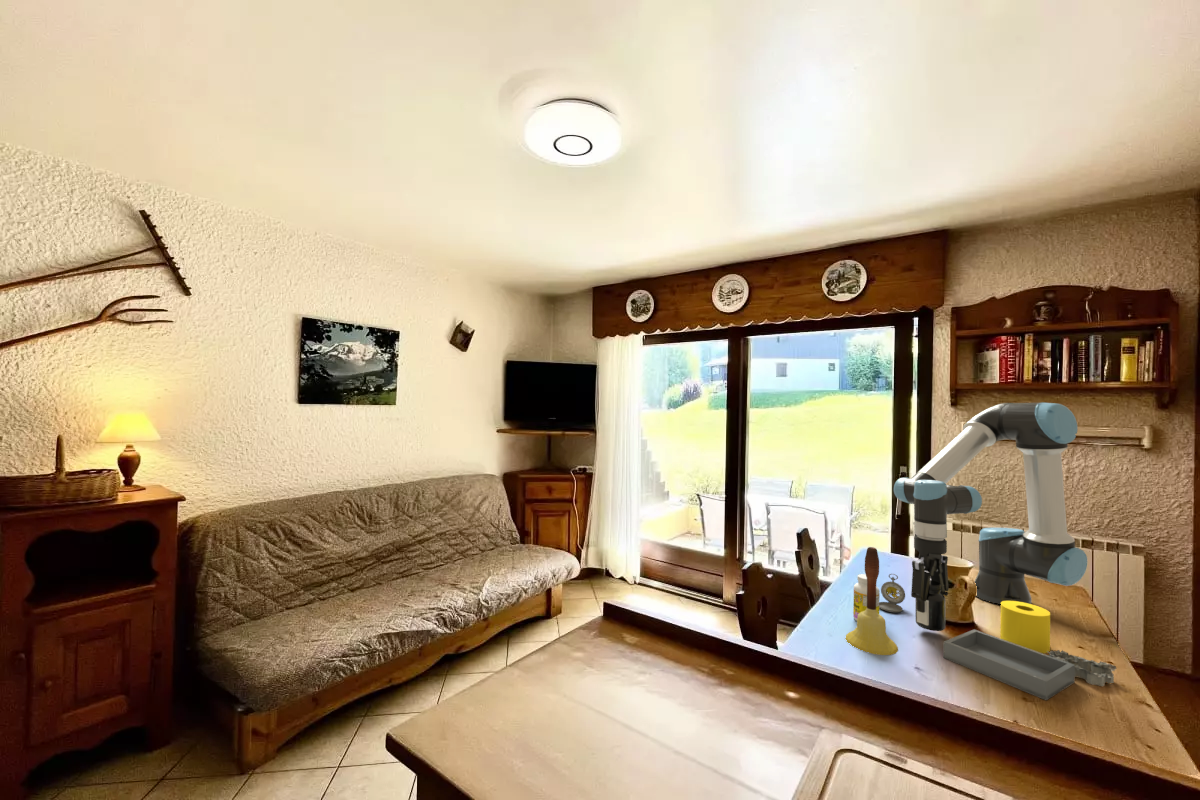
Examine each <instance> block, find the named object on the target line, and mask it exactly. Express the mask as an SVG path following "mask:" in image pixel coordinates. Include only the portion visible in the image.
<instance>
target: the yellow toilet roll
mask: <svg viewBox="0 0 1200 800" xmlns="http://www.w3.org/2000/svg"><path fill="white" fill-rule="evenodd" d="M999 615H1000V621H999V622H1000V627H999V628H1000V631H999V632H1000V633H999V635H1000V637H999V638H1000V639H1003V640H1006V641H1009V642H1012V643H1014V644H1017V645H1020V646H1023V647H1026V648H1029V649H1031V650H1034V651H1037V652H1040V653H1043V654H1049V653H1048V652H1049V651H1051V612H1050V611H1049V610H1047V609H1046V608H1043V607H1041V606H1038V605H1035V604H1032V603H1031V604H1028V603H1024V602H1018V601H1002V602H1001V605H1000V614H999ZM1047 651H1048V652H1047Z"/></svg>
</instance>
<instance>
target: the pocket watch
mask: <svg viewBox="0 0 1200 800" xmlns="http://www.w3.org/2000/svg"><path fill="white" fill-rule="evenodd" d="M891 575H893V576H892V577H891ZM894 576H896V578H895V577H894ZM888 578H889V579H890V581H886V582H884V583H882V585H881V588H880V593H881V595H882V597H883V598H884V599H885V600H886V601H879V610H882V611H885V612H889V613H895V614H896V613H901V612H903V607H902V606H900V605H899V604H901V603H903V602H904V600H905V599H906V592H905V589H904V588H903V586H902V585H901V584H899V583H897V582H895V581H896V580H898V578H899V576H898V575H897V574H895V573H889V574H888Z"/></svg>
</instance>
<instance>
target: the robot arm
mask: <svg viewBox="0 0 1200 800" xmlns="http://www.w3.org/2000/svg"><path fill="white" fill-rule="evenodd" d="M1078 429H1079V428H1078V421H1077V419H1076V417H1075V415H1074V413H1073V412H1072V410H1070V409H1069V408H1068V407H1067V406H1065V405H1063V404H1062V403H1053V402H1003V403H998V404H995V405H993V406H990V407H988V408H986V409H984V410H982V411H980V412H979V413H977V414H976V415H974V416H972V418H970V419H969V420H968V421H966V422H965V424H963V426H962V431H961V432H960V433H959V434H958V435H956V437H954V438H953V439H952V440H951V441H950V442H948V444H947V445H946V446H945V447H943V448H942V449H941V450H940V451H939V452H938V453H937V454H936V455H935V456H934V457H933V458H931V459H930V460H929V461H928V462H927V463H926V464H924V465H923V466H922V468H920V469H919V470H918V471H917V472H916V474H914V475H913V476H911V477H910V478H909V477H900V478H898V479H897V480H896V481H895V482H894V485H893V494H894V496H895V498H896V499H897V500H899V501H901V502H904V503H907V504H909V505H913V510H914V512H913V513H914V514H913V515H914V516H913V519H914V520H913V522H912V523H913V526H914V527H913V531H914V534H915V535H914V536H913V548H914V549H915V550H916V551H918V553H919V554H918V558H917V559H918V560H912V562H911V565H912V574H911V575H912V577H911V591H910V595H911V597H912V598H914V599H915V600H916V599H917V622H919V623H922V624H924V625H929V601H928V600H927V595H928V589H929V584H930V580H933V581H936V582H939V583H940V584H941V592H940V593H942V594H943V595H944V596H946V597H947V596H948V595H949V592H948V591H949V588H950V587H949V575H948V560H949V559H948V558H949V557H948V556H947V555H945V554H946V553H947V551H948V548H947V547H948V544H947V543H948V542H947V540H946V539H947V538H948V530H947V529H948V527H947V526H948V524H947V522H948V521H947V517H948V516H947V515H958V514H970V513H974V512H977V511H978V510H980V509H981V507H982V505H983V498H982V495H981V493H980V492H979V490H978V489H976V488H975V487H973V486H970V485H960V484H959V485H949V484H947V483H949V482H950V480H951V479H953V478H954V477H955V475H957V474H958V473H959V472H960V471H961V470H962V469H963V468H965V466H966V465H968V464H969V463H970V462H971V461H972V460H973V459H974V458H975V457H976V456H977V455H978V454H979V453H981V452H982V451H983V450H984V449H985V448H987V447H991V446H993V445H994V444H996V443H997V442H999V441H1003V440H1010V441H1011V440H1012V441H1015V448H1016V449H1017V450H1019V451H1020V452H1022V457H1023V467H1024V468H1023V469H1024V481H1025V496H1026V509H1027V521H1028V529H1027V530H1026V531H1025V530H1024V529H1020V528H1014V527H1013V528H1011V527H983V528H982V529H980V531H979V538H978V573H977V575H976V577H975V579H974V582H975V583H976V586H977V597H979V598H978V599H980V598H981V599H980V600H982V599H983V600H982V601H984V600H986V601H985V602H987V601H990V602H993V603H992V604H994V603H998V604H1001V602H1002V601H1018V602H1024V603H1028V604H1032V595H1031V593H1030V591H1029V588H1028V586H1027V583H1026V581H1025V580H1026V579H1025V576H1030V577H1033V578H1036V579H1039V580H1042V581H1046V582H1048V583H1051V584H1057V585H1061V586H1065V587H1069V586H1070V587H1071V586H1073V585H1075V584H1077V583H1079V581H1081V580H1082V578H1083V577H1084V575H1085V574H1086V572H1087V569H1088V556H1087V554H1086V552H1085V551H1084V550H1082V549H1081V548H1079V547H1076V542H1075V538H1074V536H1072V535H1070V534H1069V533H1068V528H1067V527H1068V524H1067V515H1066V514H1067V512H1066V511H1067V510H1066V503H1065V502H1066V501H1065V499H1066V498H1065V488H1064V486H1065V485H1064V474H1063V459H1062V453H1064V452H1065V451H1066V450H1067V449H1068V448H1069V447H1068V446H1069V445H1068V444H1070V443H1072V442H1073V441H1074V440H1075V438H1076V437H1077V435H1076V434H1078ZM977 597H976V598H977ZM990 602H989V603H990ZM998 604H997V605H998Z"/></svg>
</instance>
